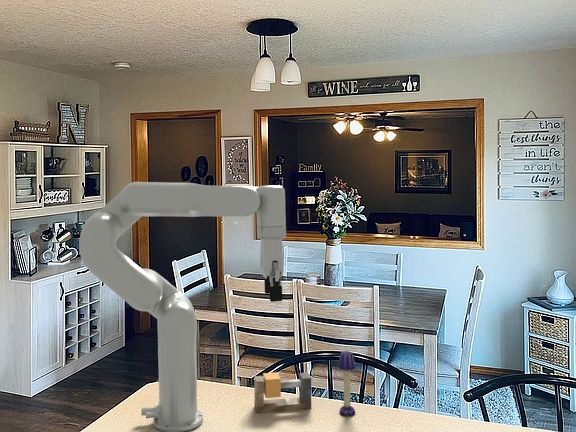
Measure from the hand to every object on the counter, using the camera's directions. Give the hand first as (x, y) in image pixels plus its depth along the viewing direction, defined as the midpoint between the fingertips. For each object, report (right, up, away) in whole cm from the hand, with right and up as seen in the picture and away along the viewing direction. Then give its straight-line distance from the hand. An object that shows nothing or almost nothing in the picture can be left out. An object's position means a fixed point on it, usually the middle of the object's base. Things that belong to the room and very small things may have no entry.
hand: (273, 297), depth 150 cm
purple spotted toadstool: (+19, -32, +2) cm, 37 cm away
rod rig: (+2, -31, +5) cm, 32 cm away
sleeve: (-1, -27, +5) cm, 27 cm away
